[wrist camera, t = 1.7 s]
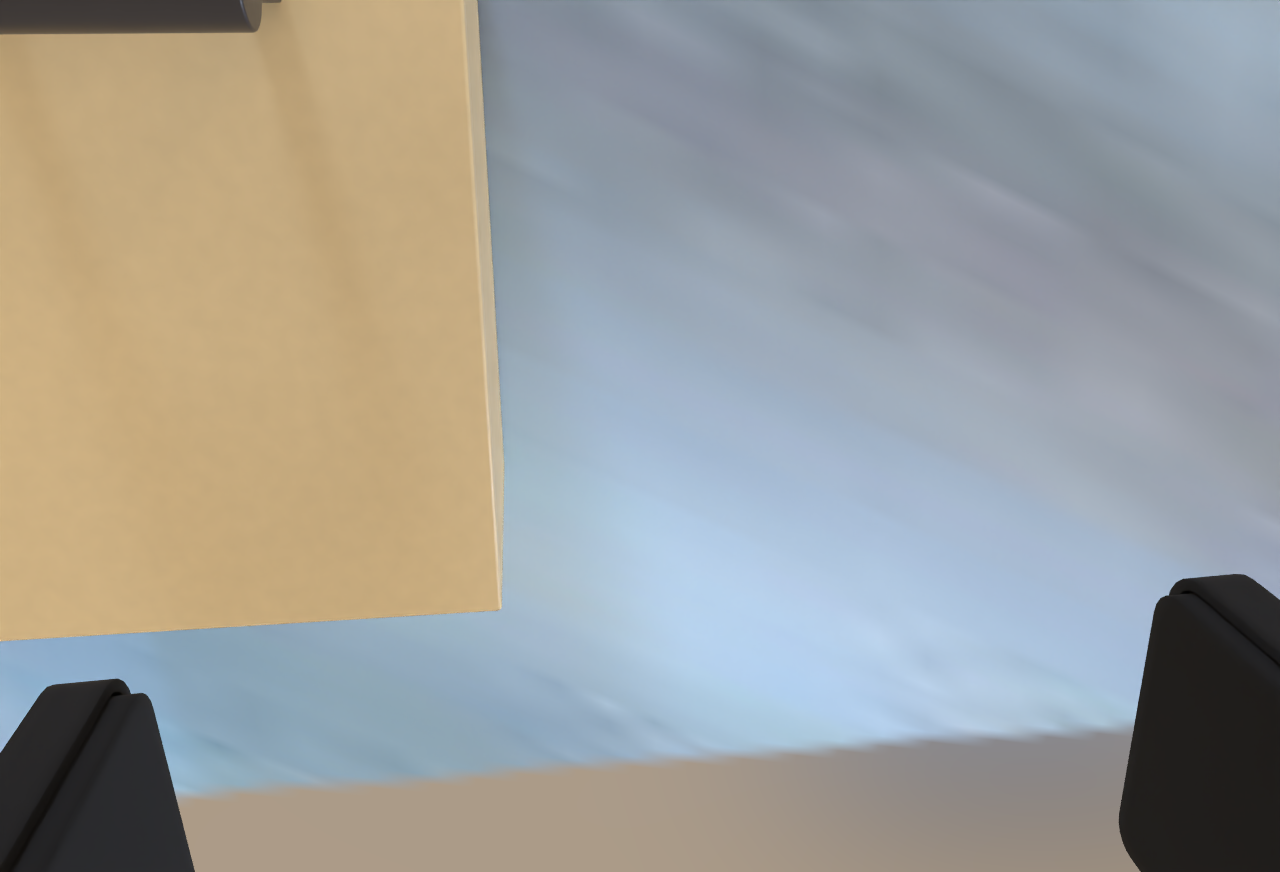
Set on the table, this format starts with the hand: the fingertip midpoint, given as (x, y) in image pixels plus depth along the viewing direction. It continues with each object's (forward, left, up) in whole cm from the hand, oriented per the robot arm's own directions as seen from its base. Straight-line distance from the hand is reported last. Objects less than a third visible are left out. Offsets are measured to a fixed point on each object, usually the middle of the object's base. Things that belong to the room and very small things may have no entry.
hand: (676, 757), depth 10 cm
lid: (-1, -8, -16) cm, 18 cm away
